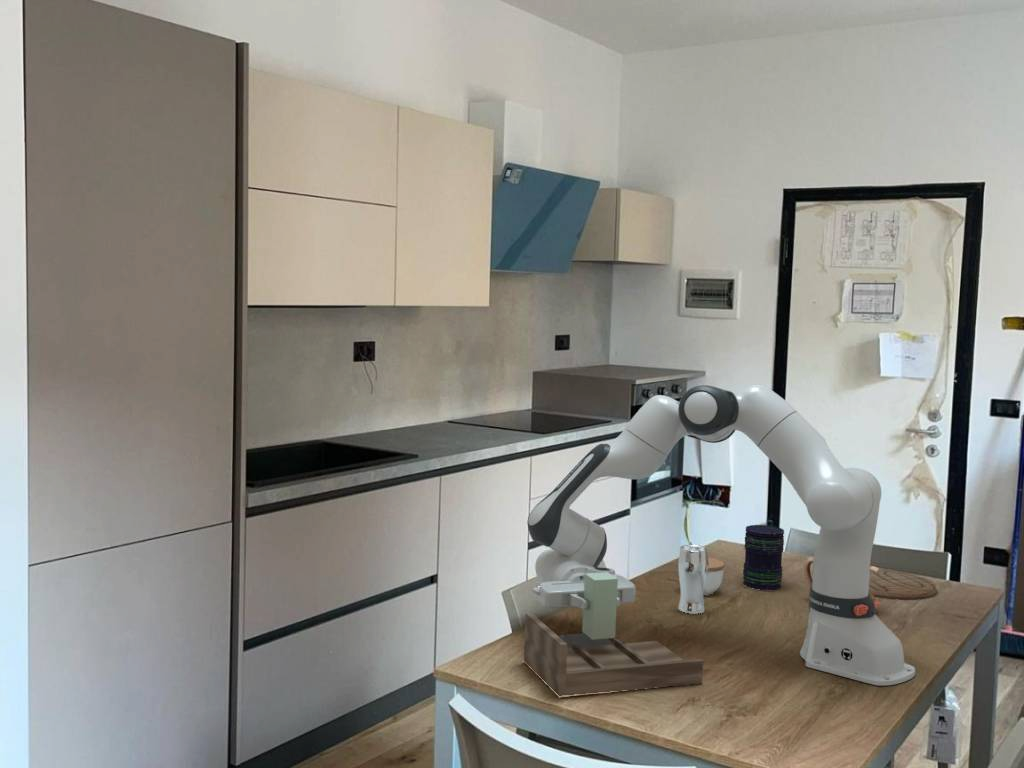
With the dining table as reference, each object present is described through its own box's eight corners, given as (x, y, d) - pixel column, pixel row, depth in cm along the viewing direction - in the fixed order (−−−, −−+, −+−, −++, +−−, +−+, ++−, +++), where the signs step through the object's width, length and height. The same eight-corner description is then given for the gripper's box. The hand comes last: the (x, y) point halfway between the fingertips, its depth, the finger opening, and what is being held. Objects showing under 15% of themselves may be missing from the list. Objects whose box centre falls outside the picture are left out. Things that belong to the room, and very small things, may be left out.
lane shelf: (523, 662, 200) (525, 613, 200) (656, 650, 210) (658, 603, 209) (559, 698, 183) (561, 644, 182) (701, 683, 192) (704, 632, 191)
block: (582, 631, 205) (584, 573, 204) (604, 629, 206) (607, 572, 205) (592, 639, 200) (594, 580, 199) (615, 637, 201) (617, 578, 200)
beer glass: (697, 616, 233) (700, 553, 232) (671, 610, 238) (673, 548, 236) (711, 610, 239) (714, 547, 238) (684, 604, 243) (687, 542, 242)
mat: (542, 638, 215) (542, 636, 215) (598, 633, 219) (598, 631, 219) (563, 657, 204) (563, 655, 204) (622, 652, 208) (622, 650, 208)
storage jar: (734, 582, 264) (737, 526, 263) (764, 579, 268) (767, 523, 267) (758, 592, 255) (762, 534, 254) (789, 589, 259) (792, 532, 258)
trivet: (872, 603, 250) (872, 596, 250) (816, 576, 274) (816, 569, 274) (957, 598, 257) (958, 591, 256) (895, 572, 281) (896, 565, 280)
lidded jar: (692, 583, 262) (694, 548, 261) (730, 592, 255) (732, 555, 254) (671, 592, 253) (673, 555, 253) (709, 601, 247) (711, 563, 246)
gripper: (529, 573, 211) (553, 592, 198) (619, 567, 218) (648, 585, 205) (528, 602, 212) (552, 623, 199) (617, 596, 218) (646, 616, 205)
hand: (601, 604), depth 202 cm, fingers closed on block, 5 cm apart
